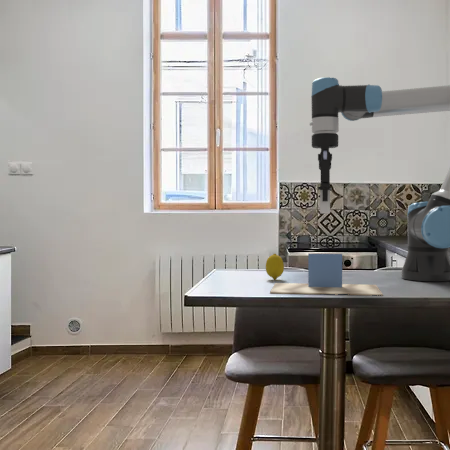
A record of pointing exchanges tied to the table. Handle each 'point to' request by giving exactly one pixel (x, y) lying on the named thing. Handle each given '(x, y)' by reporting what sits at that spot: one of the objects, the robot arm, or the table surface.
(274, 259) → the lemon
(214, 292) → the table surface
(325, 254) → the tile
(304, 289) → the board
